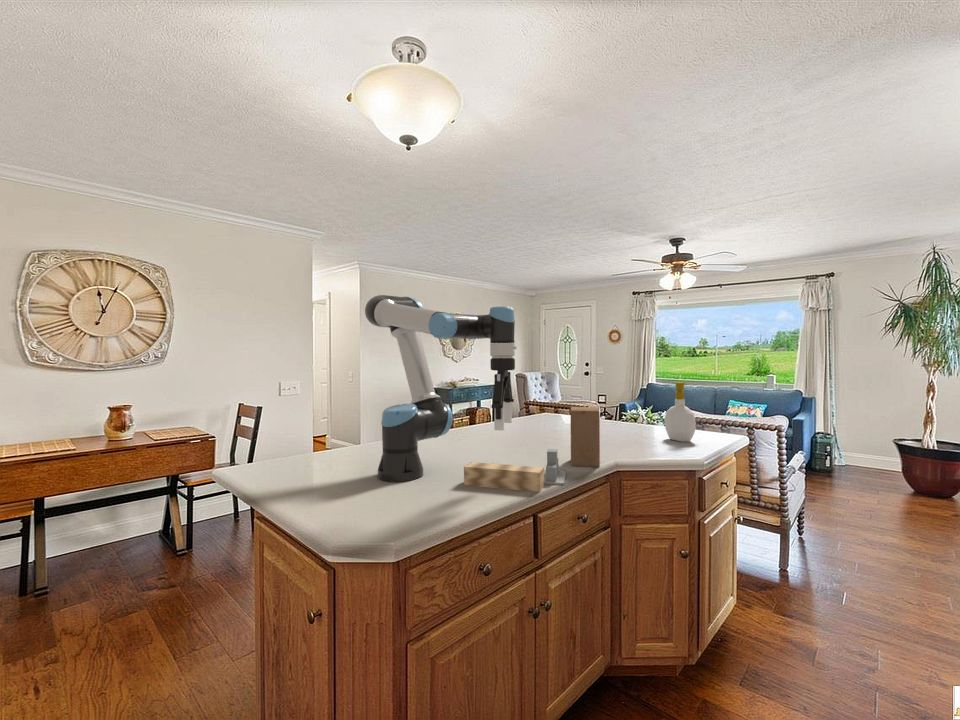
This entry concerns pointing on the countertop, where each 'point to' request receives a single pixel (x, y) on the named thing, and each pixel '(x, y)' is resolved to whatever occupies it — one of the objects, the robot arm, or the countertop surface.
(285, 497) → the countertop surface
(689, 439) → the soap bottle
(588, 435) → the wooden block
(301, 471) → the countertop surface
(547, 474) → the bracket
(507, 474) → the beam
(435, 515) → the countertop surface
